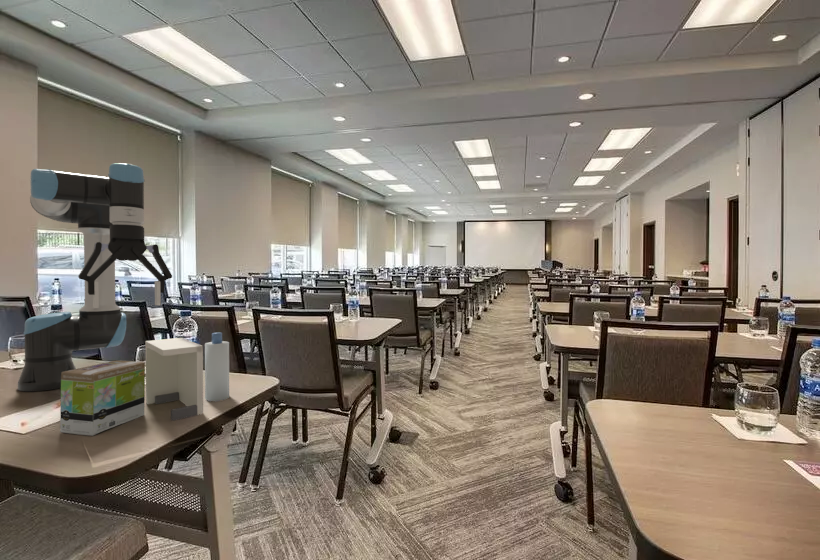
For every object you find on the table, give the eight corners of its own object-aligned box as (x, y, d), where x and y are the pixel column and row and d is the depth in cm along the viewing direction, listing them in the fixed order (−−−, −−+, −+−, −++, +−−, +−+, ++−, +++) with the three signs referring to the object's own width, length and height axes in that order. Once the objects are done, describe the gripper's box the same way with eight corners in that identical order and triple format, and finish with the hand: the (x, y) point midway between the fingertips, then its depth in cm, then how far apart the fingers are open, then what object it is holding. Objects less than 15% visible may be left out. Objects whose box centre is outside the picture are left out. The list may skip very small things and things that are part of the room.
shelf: (146, 405, 122) (145, 341, 122) (182, 398, 129) (181, 337, 129) (163, 422, 109) (163, 350, 108) (203, 413, 115) (202, 345, 115)
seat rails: (154, 404, 123) (154, 395, 123) (177, 400, 127) (177, 391, 127) (172, 420, 110) (172, 410, 110) (197, 415, 114) (197, 405, 114)
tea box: (94, 437, 99) (93, 373, 99) (59, 433, 101) (58, 371, 101) (146, 415, 114) (145, 360, 114) (114, 413, 116) (114, 358, 116)
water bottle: (202, 399, 128) (201, 333, 128) (224, 394, 133) (224, 330, 133) (209, 404, 124) (209, 335, 123) (232, 399, 128) (232, 333, 128)
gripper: (67, 219, 99) (68, 310, 100) (183, 227, 117) (184, 304, 117) (64, 222, 105) (65, 308, 105) (176, 229, 122) (176, 303, 123)
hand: (128, 306), depth 111 cm, fingers open, 13 cm apart
